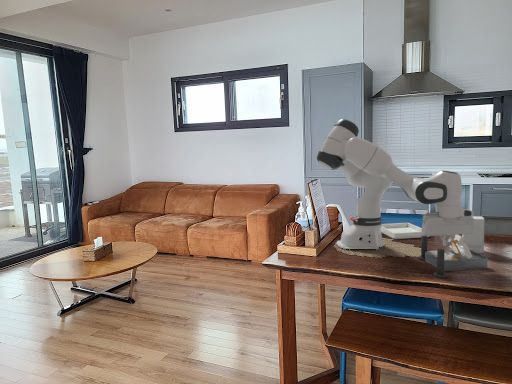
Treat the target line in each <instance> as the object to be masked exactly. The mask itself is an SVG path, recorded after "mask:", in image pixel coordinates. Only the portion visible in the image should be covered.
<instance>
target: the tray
mask: <svg viewBox="0 0 512 384" xmlns="http://www.w3.org/2000/svg"><path fill="white" fill-rule="evenodd" d="M381 234H384V235H386V236H387V237H390V238H391V239H393V240H402V239H415V238H416V239H417V238H418V239H421V236H422V235H423V233H422V227H420V226H417V225H415V224H412V223H410V222H399V223H398V222H397V223H395V222H394V223H382V224H381ZM428 238H430V236H428Z"/></svg>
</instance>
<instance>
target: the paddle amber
mask: <svg viewBox="0 0 512 384" xmlns="http://www.w3.org/2000/svg"><path fill="white" fill-rule="evenodd" d="M457 242H458V240H456V239H454V240H453V241H452V246H451V247H452V248H451V250H453V251H454V252H455V253H457V254H459V255H461V253H460V251H459V249H458V247H457V245H456V243H457Z"/></svg>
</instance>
